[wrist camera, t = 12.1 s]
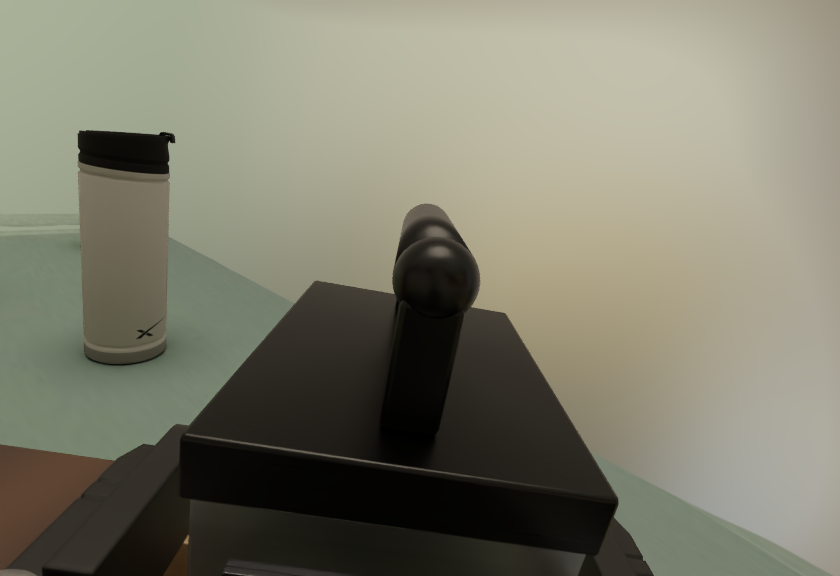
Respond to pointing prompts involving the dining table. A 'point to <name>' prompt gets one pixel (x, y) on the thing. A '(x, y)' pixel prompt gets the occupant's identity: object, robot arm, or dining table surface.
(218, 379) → the dining table surface
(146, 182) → the travel mug
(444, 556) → the grater
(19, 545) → the cabinet
